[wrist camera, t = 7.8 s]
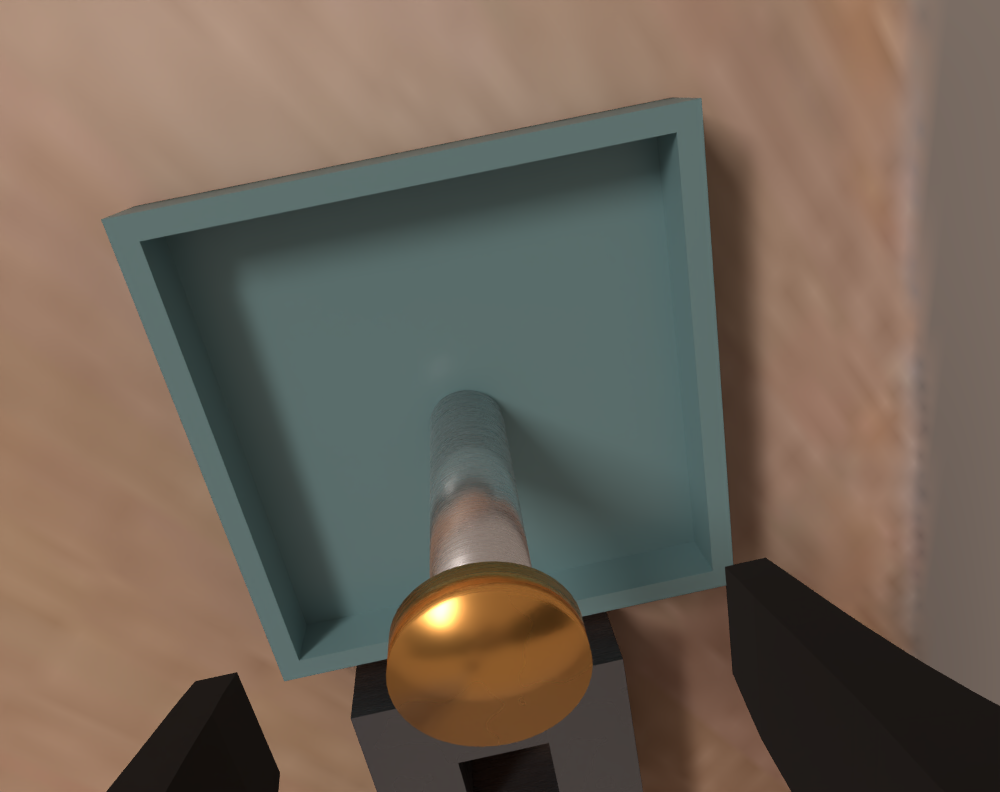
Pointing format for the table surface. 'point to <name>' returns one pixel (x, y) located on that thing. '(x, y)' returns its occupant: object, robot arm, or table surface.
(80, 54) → the table surface
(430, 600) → the steel pin
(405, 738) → the block
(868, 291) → the table surface
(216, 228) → the tray
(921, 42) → the table surface
